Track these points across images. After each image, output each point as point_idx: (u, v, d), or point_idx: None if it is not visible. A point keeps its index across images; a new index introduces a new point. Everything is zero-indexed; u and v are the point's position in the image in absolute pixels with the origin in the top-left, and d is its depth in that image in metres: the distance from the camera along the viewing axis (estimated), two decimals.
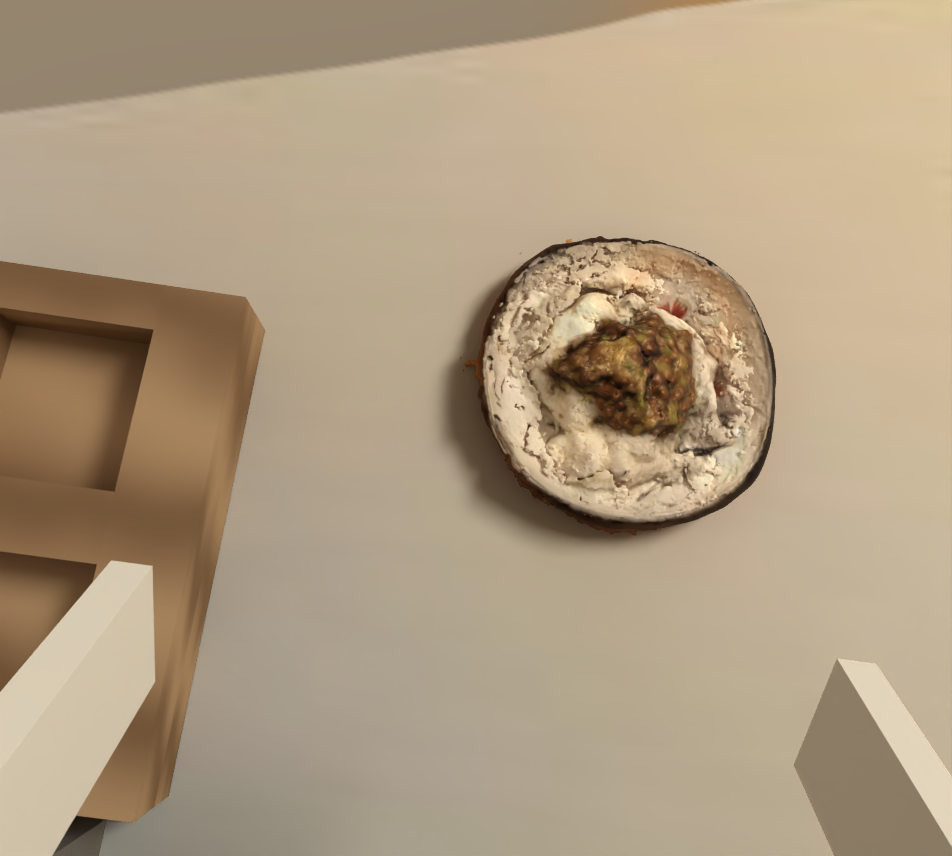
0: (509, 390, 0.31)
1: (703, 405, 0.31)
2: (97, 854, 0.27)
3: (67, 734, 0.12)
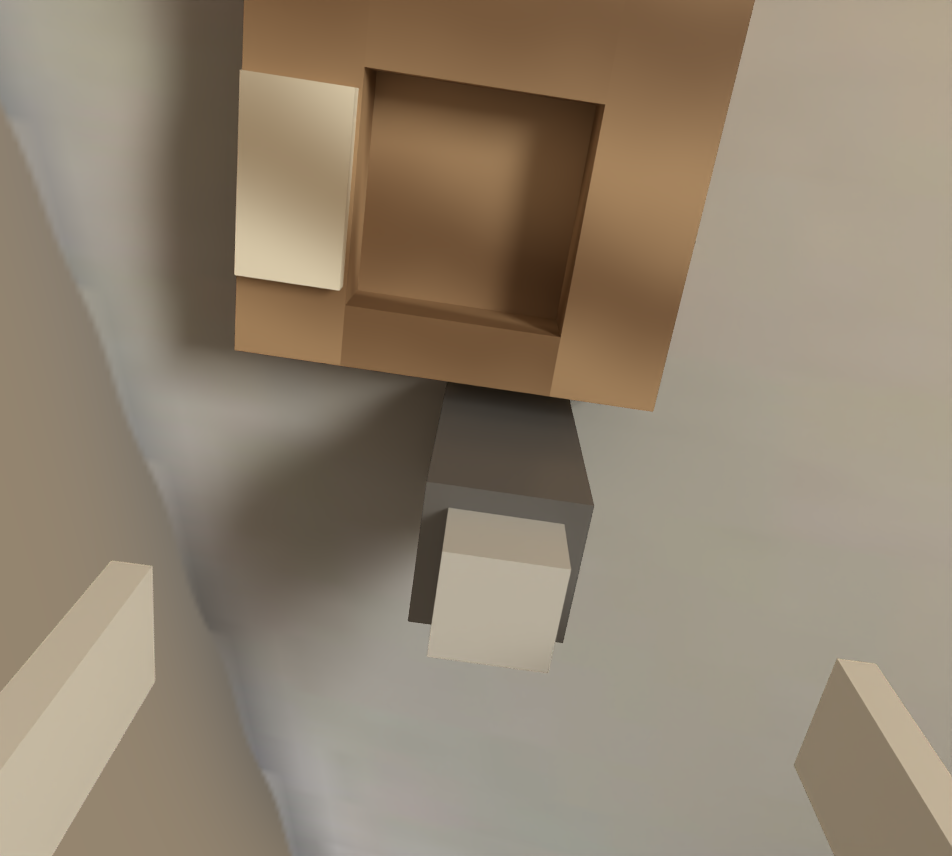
0: None
1: None
2: None
3: (67, 734, 0.12)
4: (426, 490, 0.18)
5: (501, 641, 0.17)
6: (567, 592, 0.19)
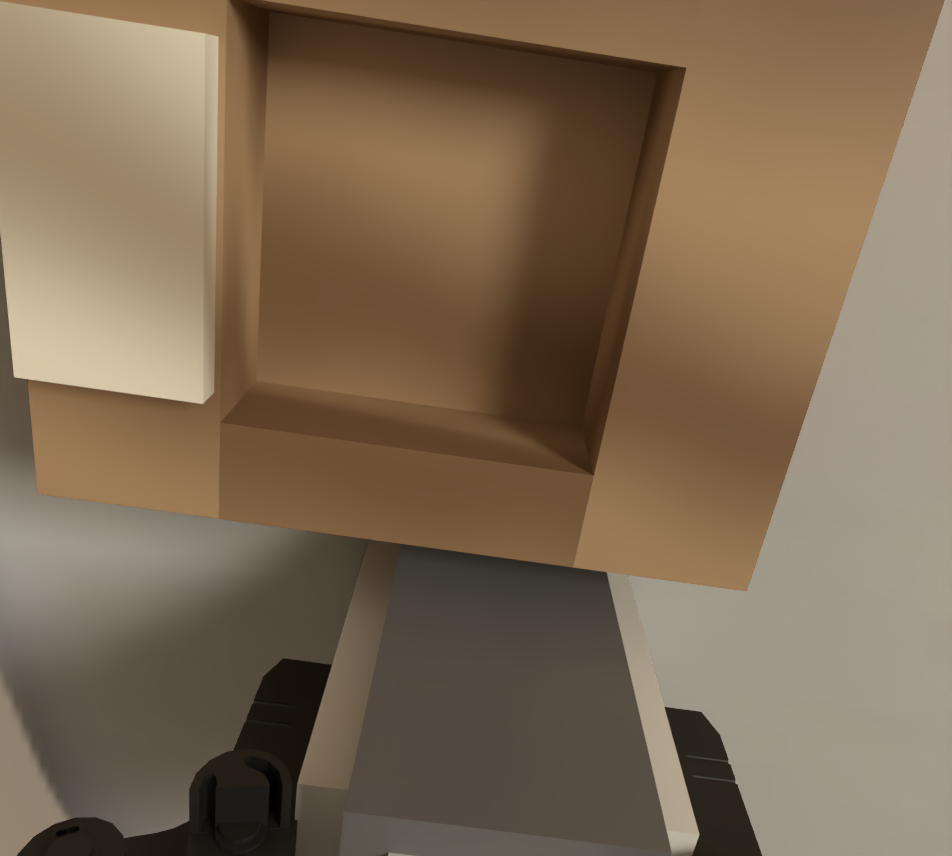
0: None
1: None
2: None
3: None
4: (344, 825, 0.09)
5: None
6: None
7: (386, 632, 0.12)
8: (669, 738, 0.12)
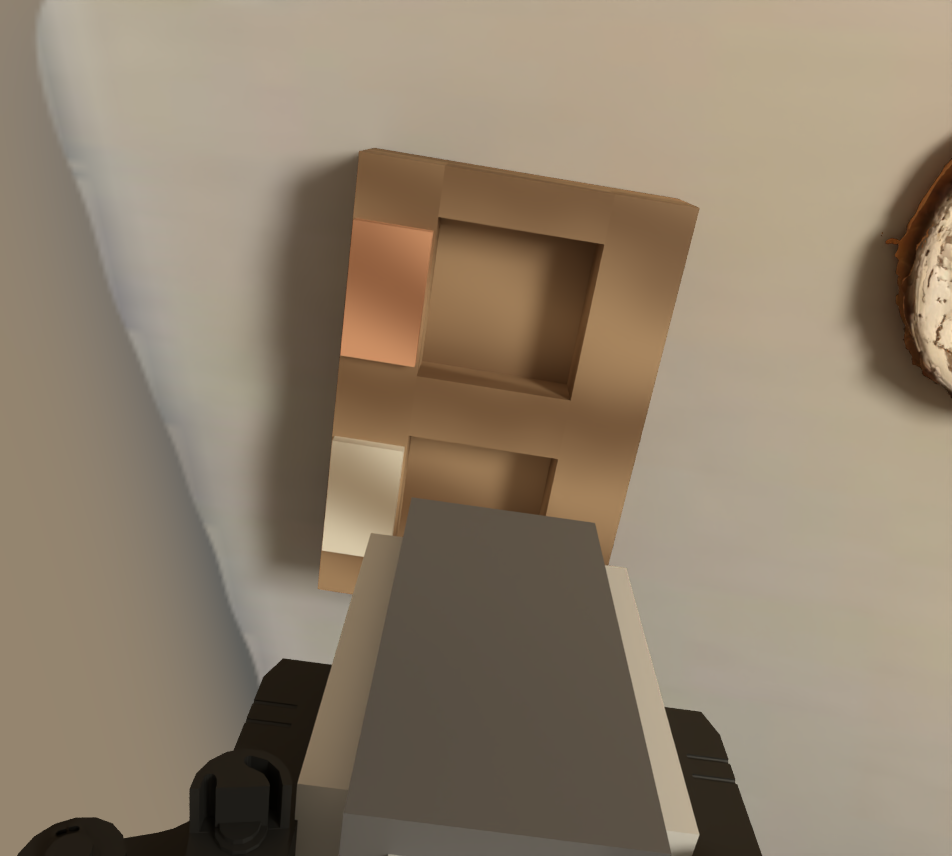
0: (936, 283, 0.30)
1: None
2: None
3: None
4: (344, 826, 0.09)
5: None
6: None
7: (386, 633, 0.12)
8: (669, 738, 0.12)
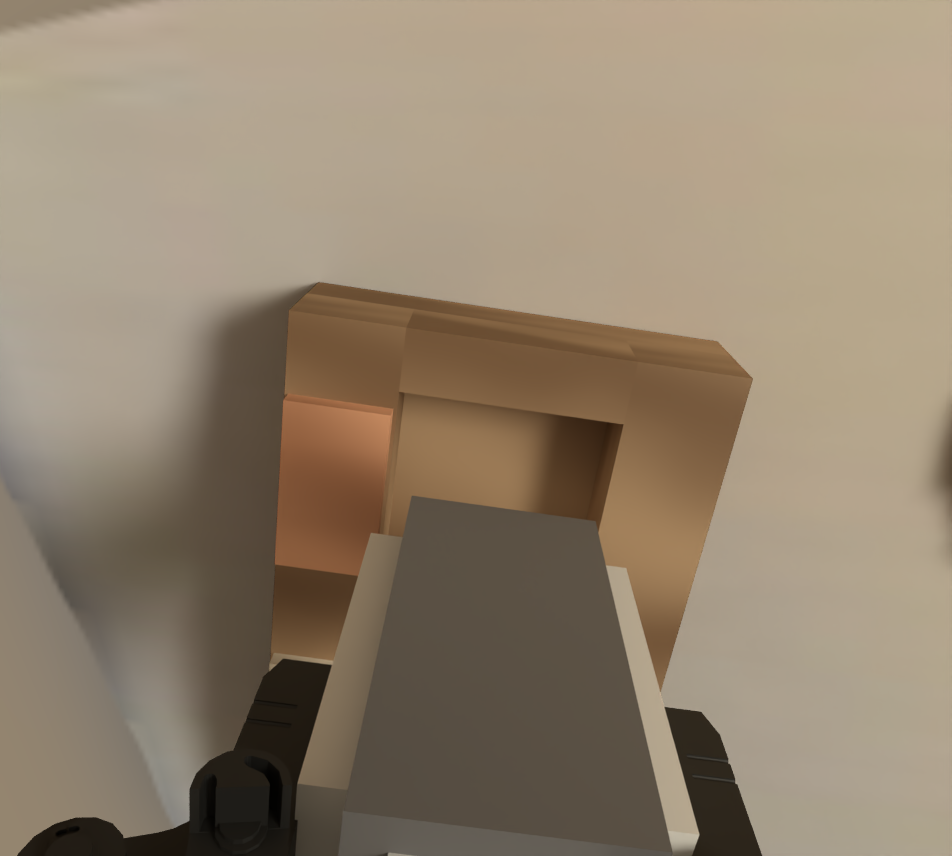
0: None
1: None
2: None
3: None
4: (343, 825, 0.09)
5: None
6: None
7: (386, 631, 0.12)
8: (669, 738, 0.12)
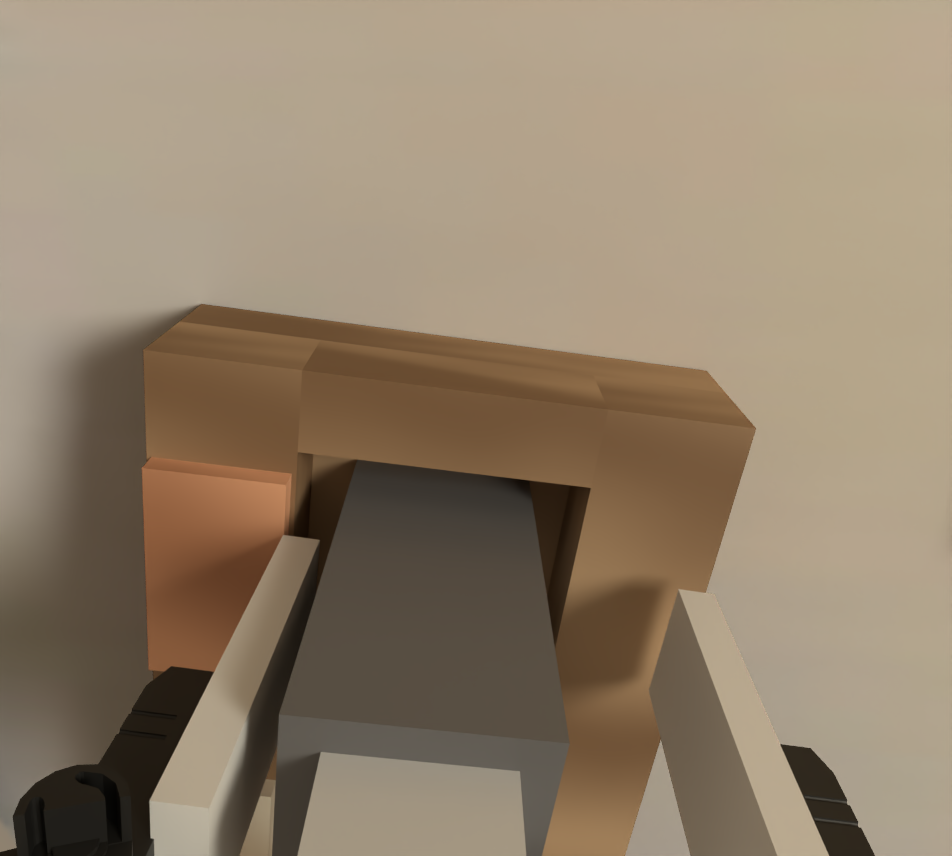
0: None
1: None
2: None
3: (276, 683, 0.13)
4: (280, 727, 0.11)
5: None
6: None
7: (326, 572, 0.14)
8: (792, 780, 0.12)
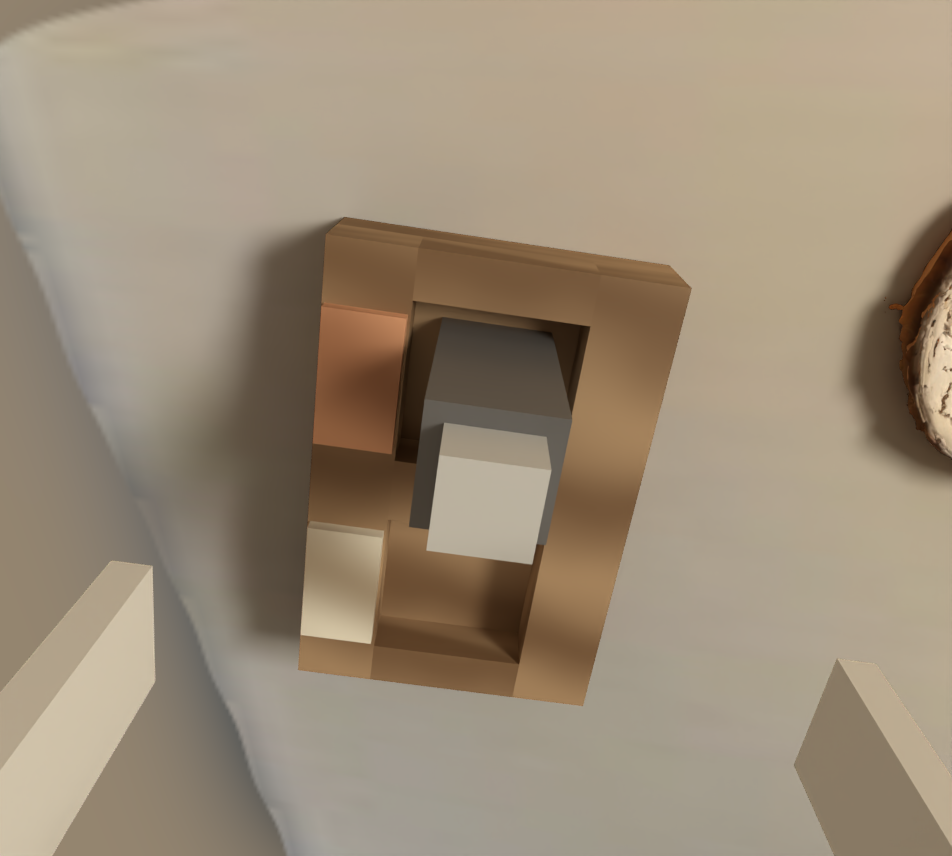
0: (942, 353, 0.28)
1: None
2: None
3: (67, 734, 0.12)
4: (424, 407, 0.21)
5: (491, 536, 0.20)
6: (549, 499, 0.22)
7: (435, 358, 0.24)
8: None
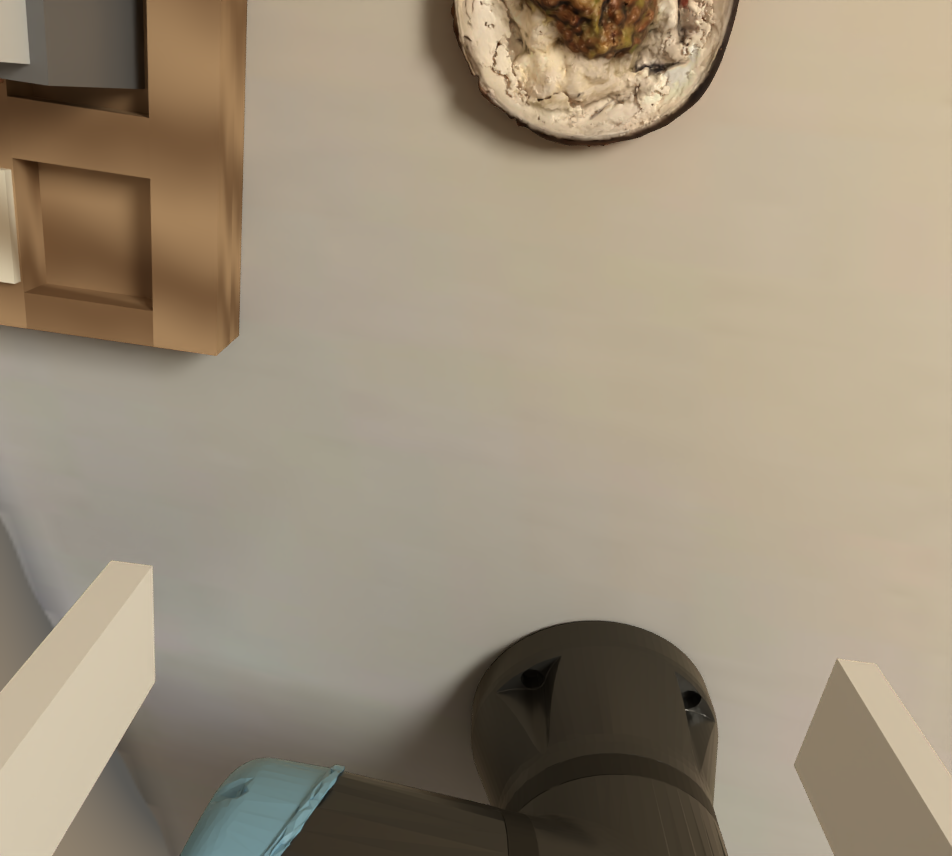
0: (480, 7, 0.33)
1: (663, 22, 0.33)
2: (142, 16, 0.33)
3: (67, 734, 0.12)
4: None
5: None
6: (40, 36, 0.26)
7: None
8: None
